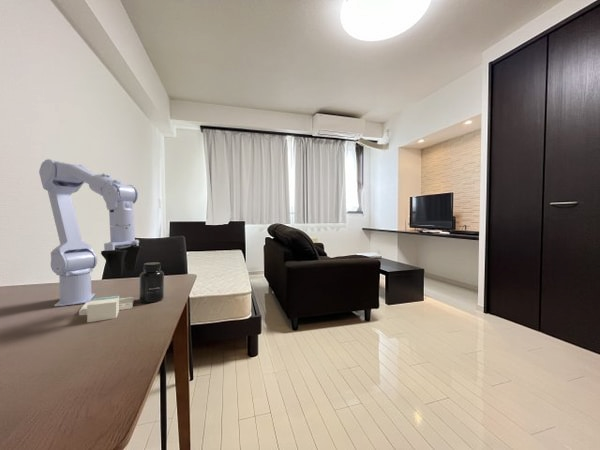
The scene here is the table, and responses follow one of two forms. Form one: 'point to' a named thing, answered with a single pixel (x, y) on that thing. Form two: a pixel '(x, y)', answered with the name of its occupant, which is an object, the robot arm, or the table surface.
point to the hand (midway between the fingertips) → (124, 273)
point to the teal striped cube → (103, 308)
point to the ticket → (123, 304)
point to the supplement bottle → (151, 283)
